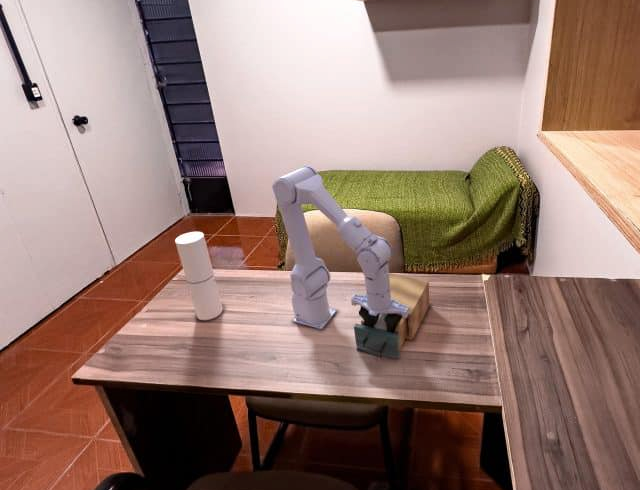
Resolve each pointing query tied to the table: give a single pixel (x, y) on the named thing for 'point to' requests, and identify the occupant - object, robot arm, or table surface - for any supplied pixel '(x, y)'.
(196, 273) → the cylindrical container
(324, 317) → the robot arm
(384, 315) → the chess piece
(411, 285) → the cabinet
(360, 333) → the drawer
